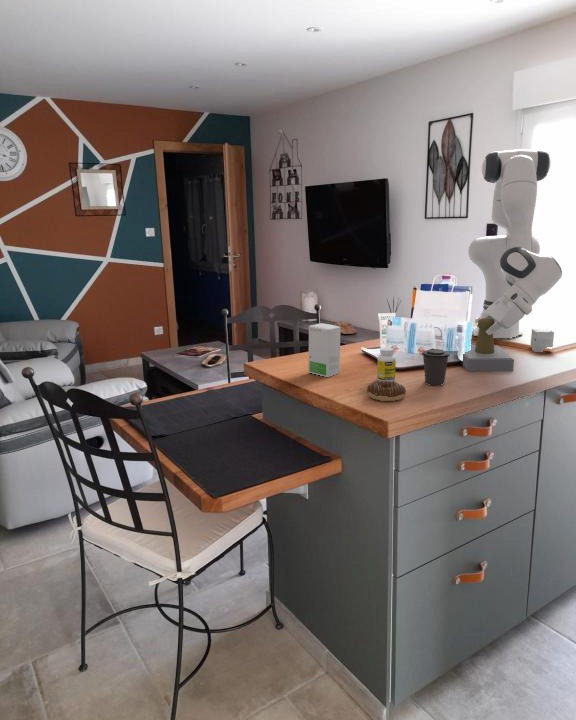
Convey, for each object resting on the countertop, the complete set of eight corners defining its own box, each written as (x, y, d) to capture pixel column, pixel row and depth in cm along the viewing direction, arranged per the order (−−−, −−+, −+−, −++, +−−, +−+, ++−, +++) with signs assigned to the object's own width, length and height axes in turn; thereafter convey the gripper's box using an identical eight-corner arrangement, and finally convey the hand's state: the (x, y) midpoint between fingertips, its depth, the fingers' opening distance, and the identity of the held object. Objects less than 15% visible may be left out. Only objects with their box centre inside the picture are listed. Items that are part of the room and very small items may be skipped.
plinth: (456, 356, 194) (457, 345, 193) (498, 356, 193) (499, 345, 192) (467, 370, 177) (467, 358, 176) (513, 370, 176) (514, 358, 175)
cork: (491, 349, 187) (493, 316, 184) (496, 353, 181) (498, 320, 178) (473, 349, 187) (474, 317, 184) (477, 353, 181) (479, 320, 179)
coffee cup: (430, 377, 172) (431, 345, 169) (454, 382, 166) (455, 349, 163) (415, 383, 166) (416, 350, 164) (439, 389, 160) (440, 355, 158)
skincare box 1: (307, 373, 180) (306, 325, 176) (321, 369, 184) (320, 322, 180) (328, 378, 174) (327, 329, 170) (341, 373, 179) (341, 325, 175)
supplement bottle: (384, 383, 167) (384, 351, 164) (373, 379, 171) (373, 348, 169) (398, 380, 169) (399, 349, 167) (387, 376, 174) (388, 345, 171)
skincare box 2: (529, 348, 203) (531, 328, 201) (547, 348, 202) (549, 328, 200) (534, 352, 197) (536, 331, 195) (552, 352, 196) (554, 331, 195)
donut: (360, 400, 154) (360, 386, 153) (376, 389, 162) (377, 376, 161) (396, 406, 148) (397, 392, 147) (411, 395, 156) (412, 381, 155)
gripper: (501, 288, 188) (470, 317, 192) (519, 298, 169) (484, 330, 172) (514, 301, 189) (482, 330, 193) (533, 312, 169) (498, 344, 173)
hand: (483, 330), depth 182 cm, fingers open, 8 cm apart
